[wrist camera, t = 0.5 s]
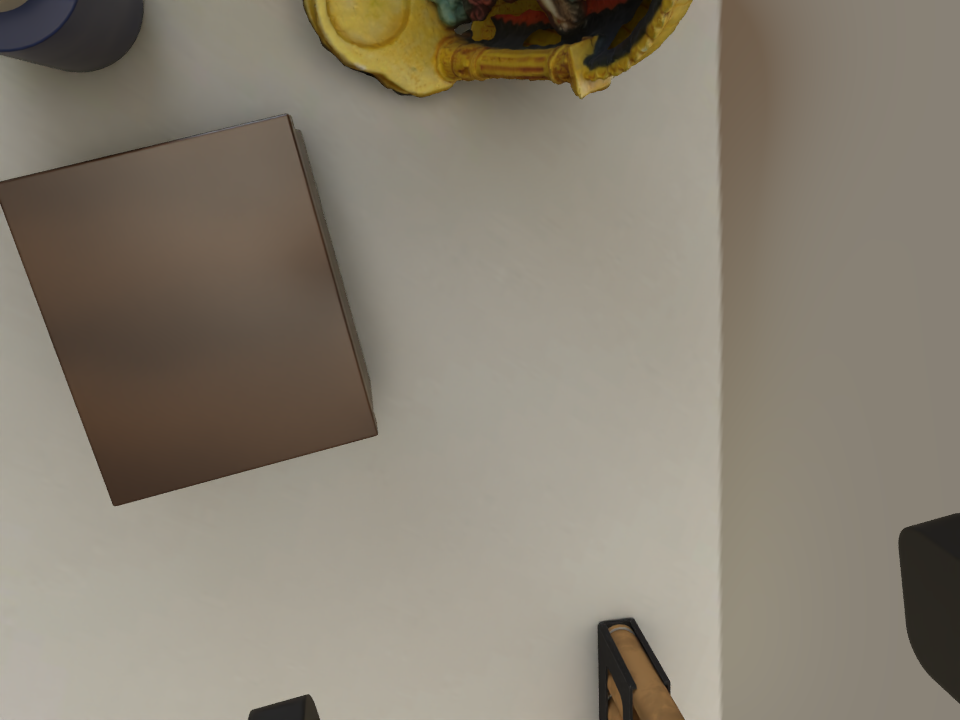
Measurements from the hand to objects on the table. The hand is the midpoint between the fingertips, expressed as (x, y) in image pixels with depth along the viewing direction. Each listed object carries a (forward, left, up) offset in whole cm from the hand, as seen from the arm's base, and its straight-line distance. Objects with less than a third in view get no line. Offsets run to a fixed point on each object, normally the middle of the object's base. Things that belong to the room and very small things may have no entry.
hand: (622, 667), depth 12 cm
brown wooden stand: (-3, -8, -28) cm, 30 cm away
